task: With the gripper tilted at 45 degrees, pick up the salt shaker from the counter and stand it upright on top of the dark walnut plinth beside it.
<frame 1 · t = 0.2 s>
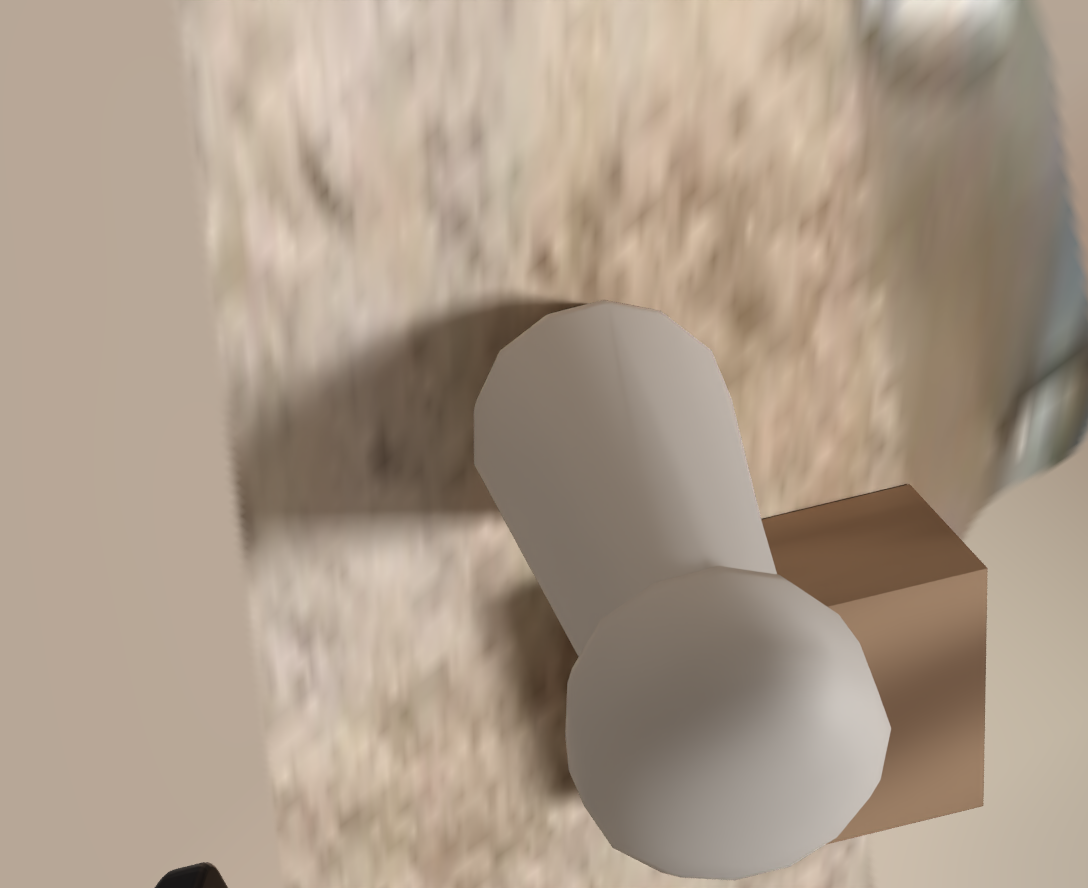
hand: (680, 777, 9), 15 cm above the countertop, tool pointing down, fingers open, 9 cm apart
salt shaker: (584, 383, 24), on the countertop
walnut plinth: (777, 634, 28), on the countertop
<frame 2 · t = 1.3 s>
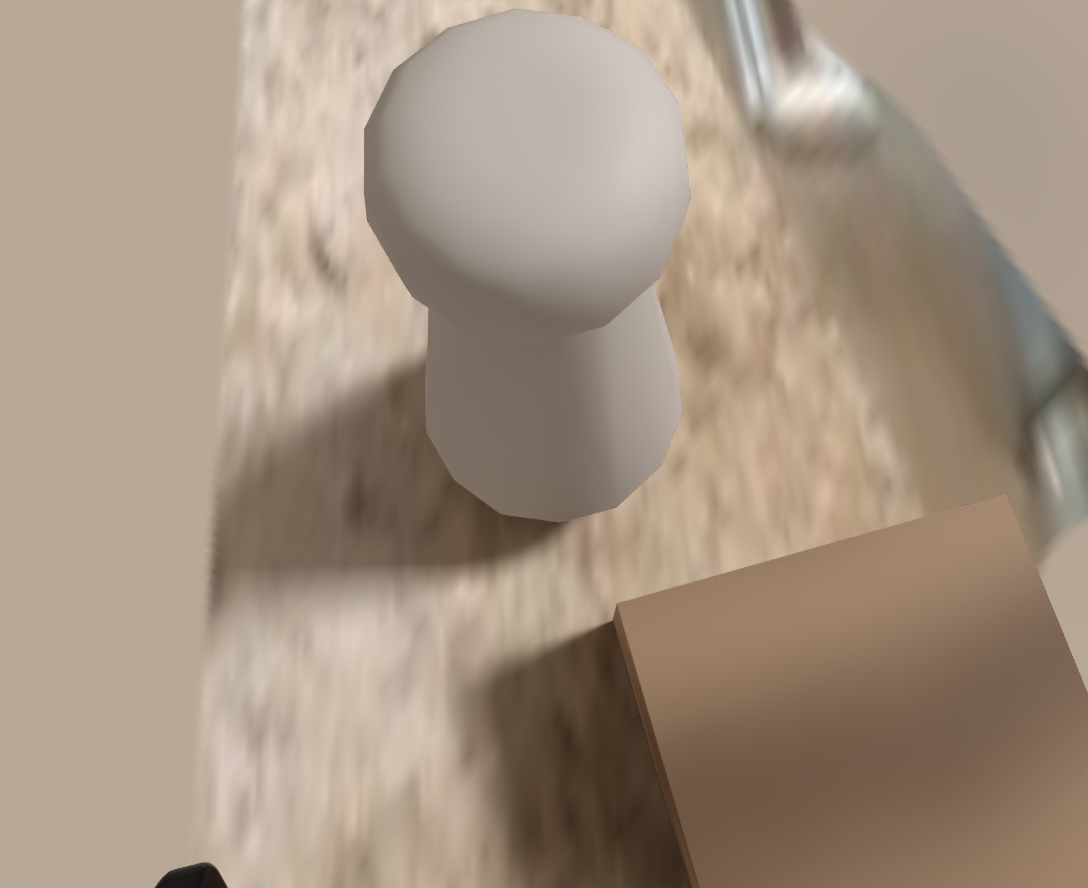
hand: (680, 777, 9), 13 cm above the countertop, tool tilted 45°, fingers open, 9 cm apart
salt shaker: (556, 426, 24), on the countertop
walnut plinth: (833, 745, 22), on the countertop
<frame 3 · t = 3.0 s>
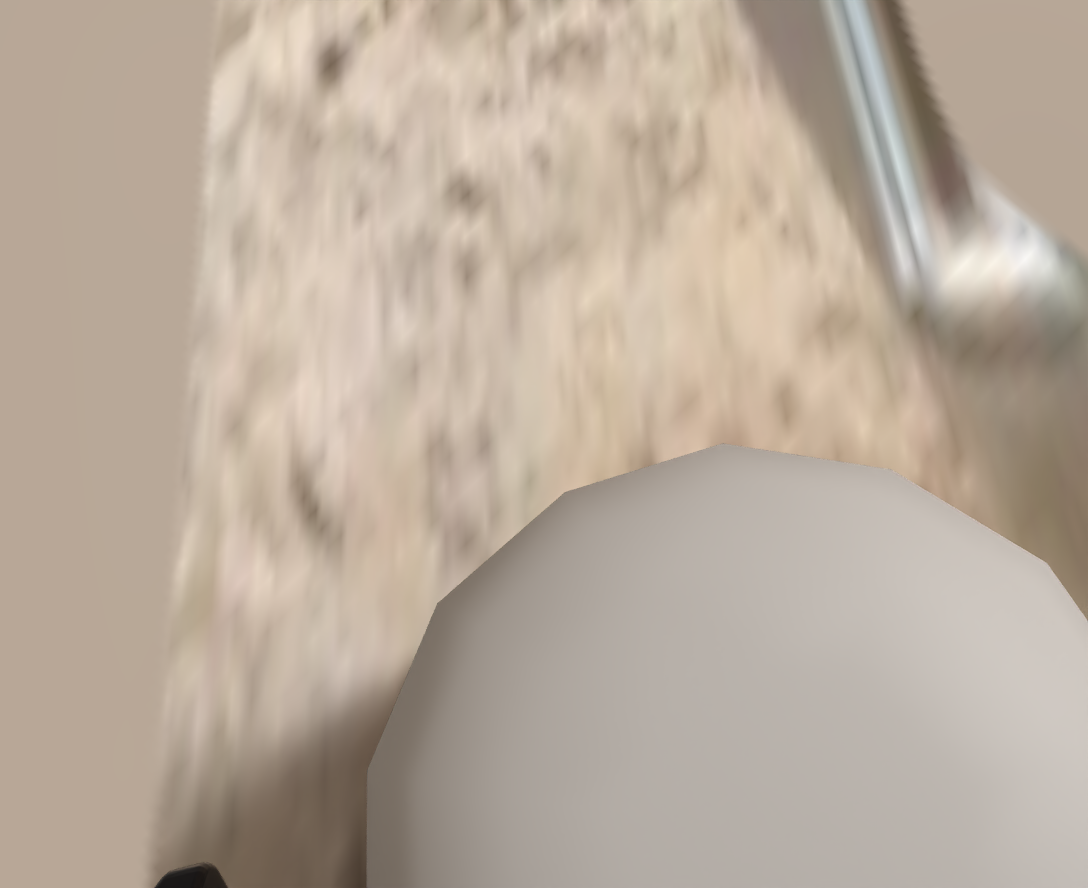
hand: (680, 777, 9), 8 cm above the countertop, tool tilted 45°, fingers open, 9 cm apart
salt shaker: (644, 760, 17), on the countertop
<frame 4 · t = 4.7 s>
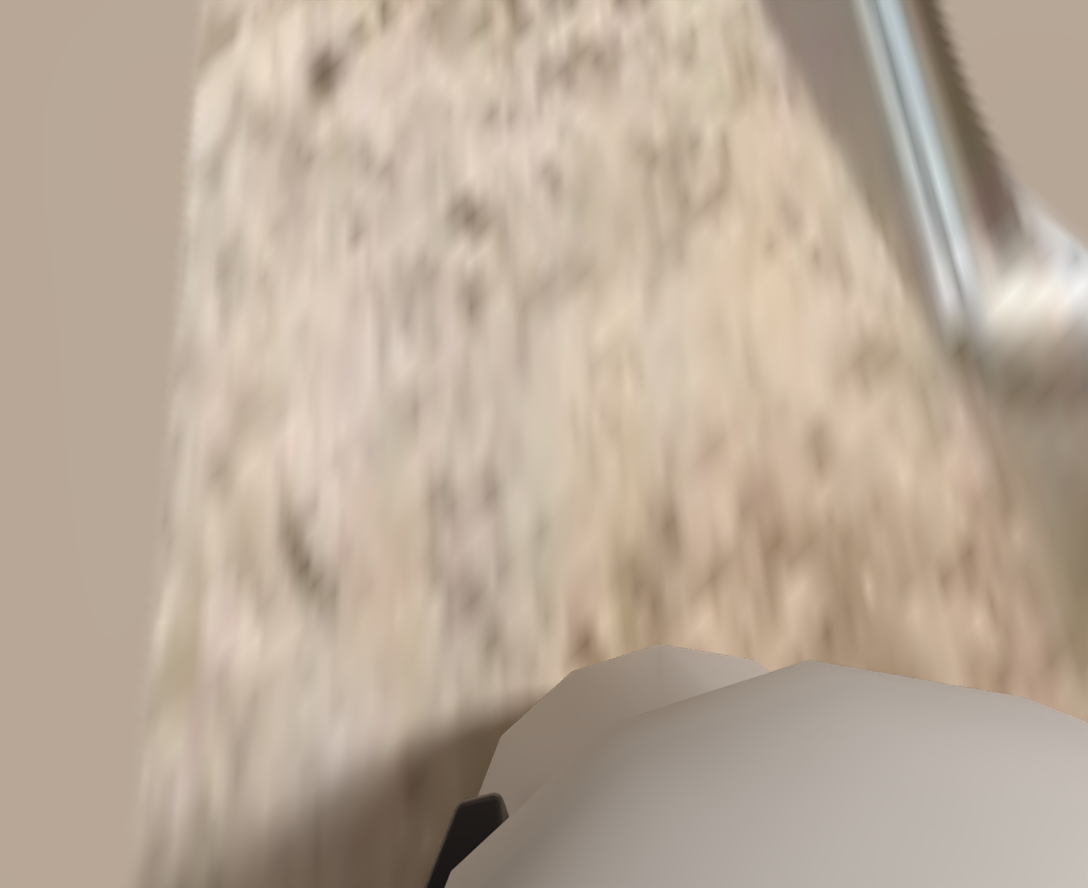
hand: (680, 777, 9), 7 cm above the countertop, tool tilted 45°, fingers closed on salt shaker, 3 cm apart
salt shaker: (666, 843, 15), on the countertop, touching gripper
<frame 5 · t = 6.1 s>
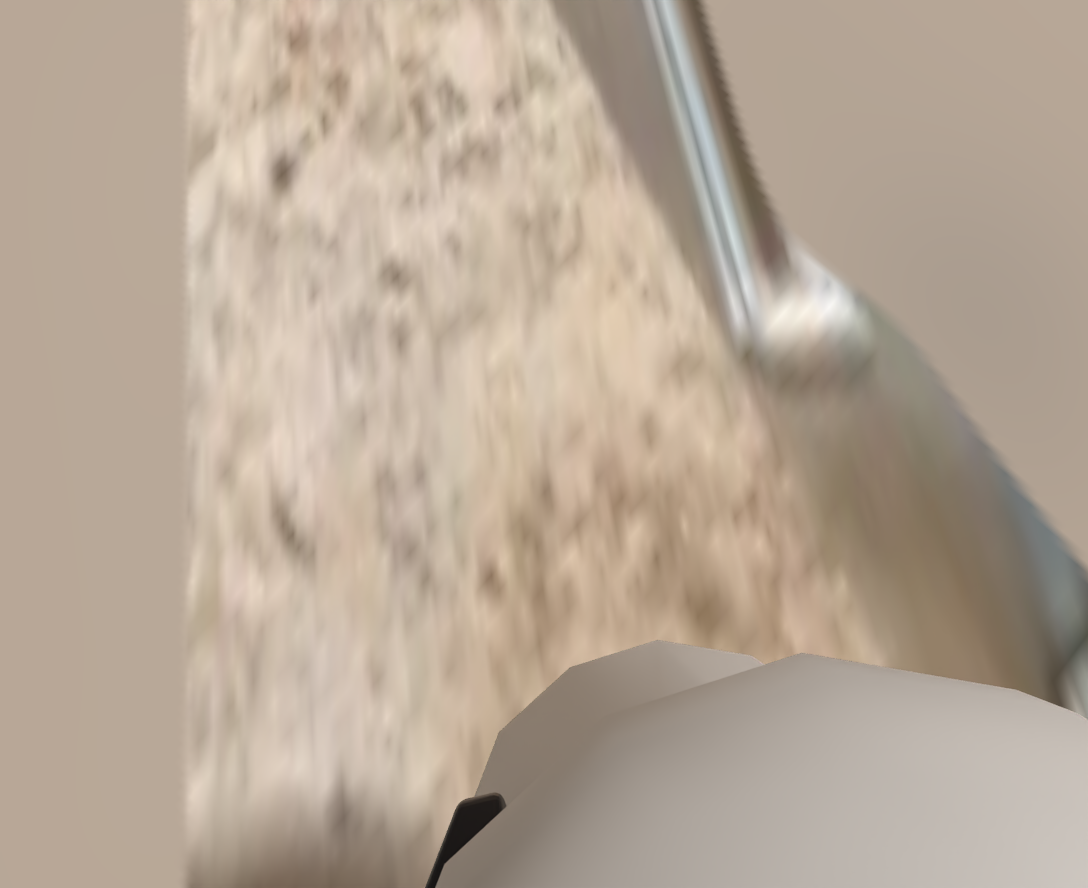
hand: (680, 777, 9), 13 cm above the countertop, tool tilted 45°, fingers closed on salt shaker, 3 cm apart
salt shaker: (665, 839, 15), point 7 cm above the countertop, touching gripper
when the fingers open (11 cm above the countertop, at t = 7.7 s): salt shaker stays where it is, resting on walnut plinth.
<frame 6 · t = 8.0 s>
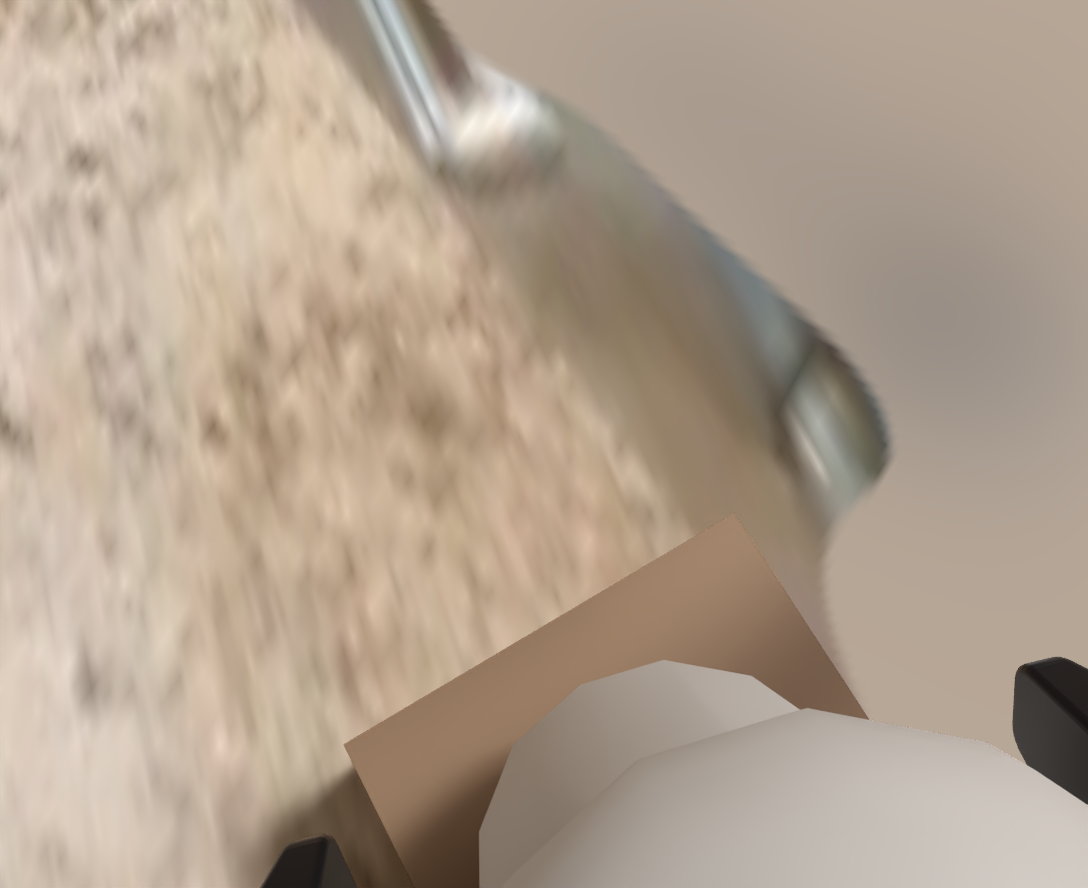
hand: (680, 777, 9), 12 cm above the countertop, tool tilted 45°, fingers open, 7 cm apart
salt shaker: (666, 846, 16), point 4 cm above the countertop, touching walnut plinth
walnut plinth: (650, 813, 20), on the countertop
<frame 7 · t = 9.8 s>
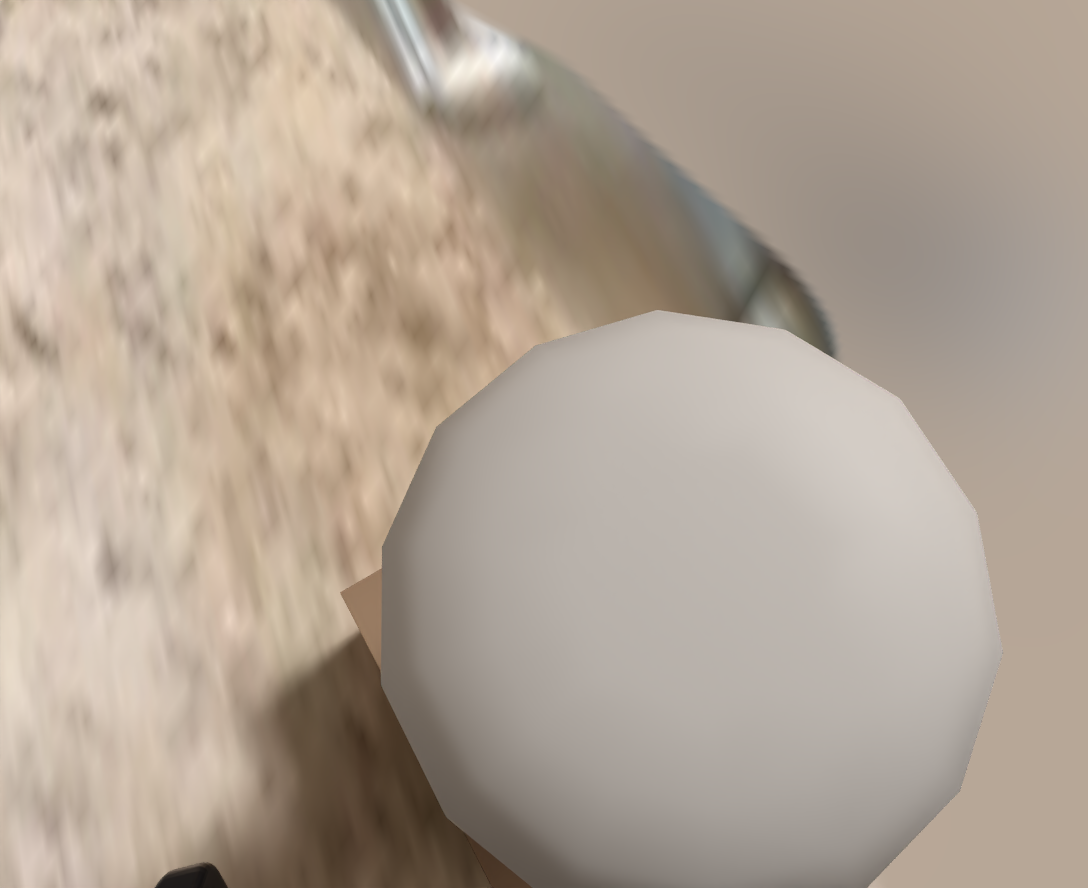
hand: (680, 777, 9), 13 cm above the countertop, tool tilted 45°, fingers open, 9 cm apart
salt shaker: (623, 677, 19), point 4 cm above the countertop, touching walnut plinth
walnut plinth: (616, 676, 22), on the countertop
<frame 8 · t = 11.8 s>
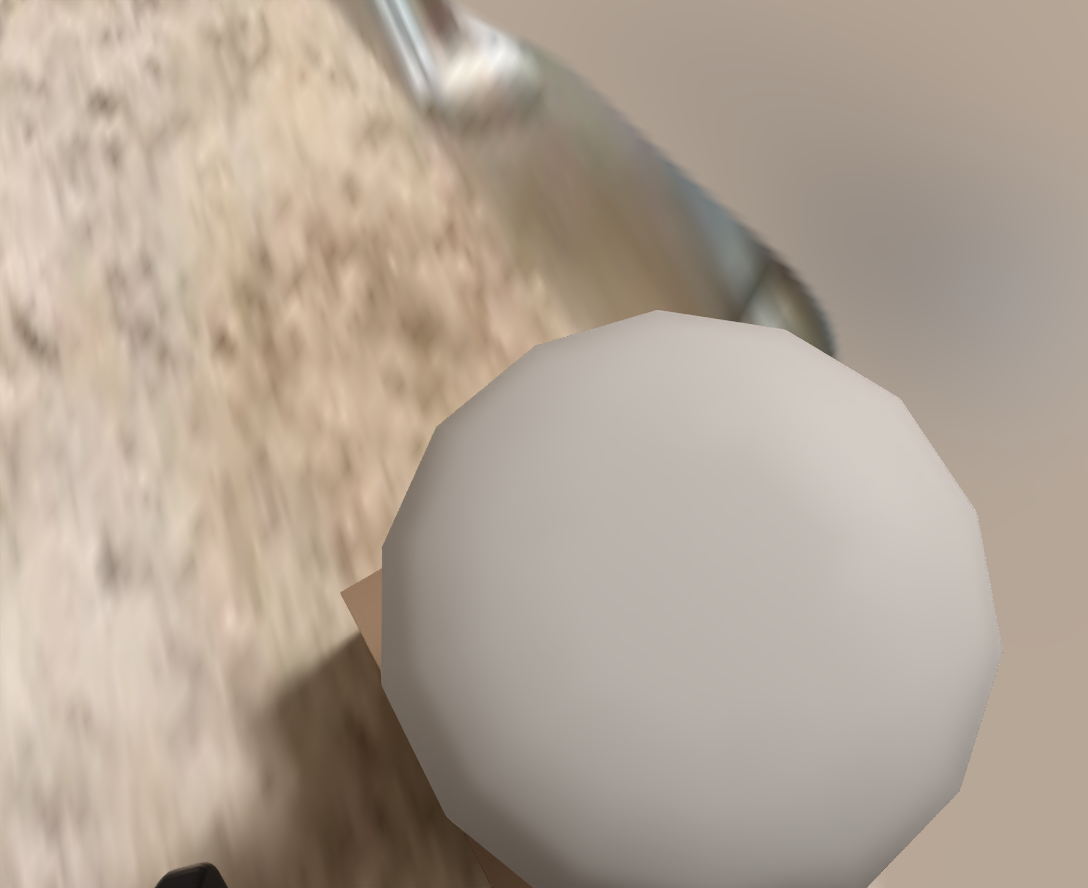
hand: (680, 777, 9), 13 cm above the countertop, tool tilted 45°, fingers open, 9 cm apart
salt shaker: (623, 677, 19), point 4 cm above the countertop, touching walnut plinth
walnut plinth: (616, 676, 22), on the countertop
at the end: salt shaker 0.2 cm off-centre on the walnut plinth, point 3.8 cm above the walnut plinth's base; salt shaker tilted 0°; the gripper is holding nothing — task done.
